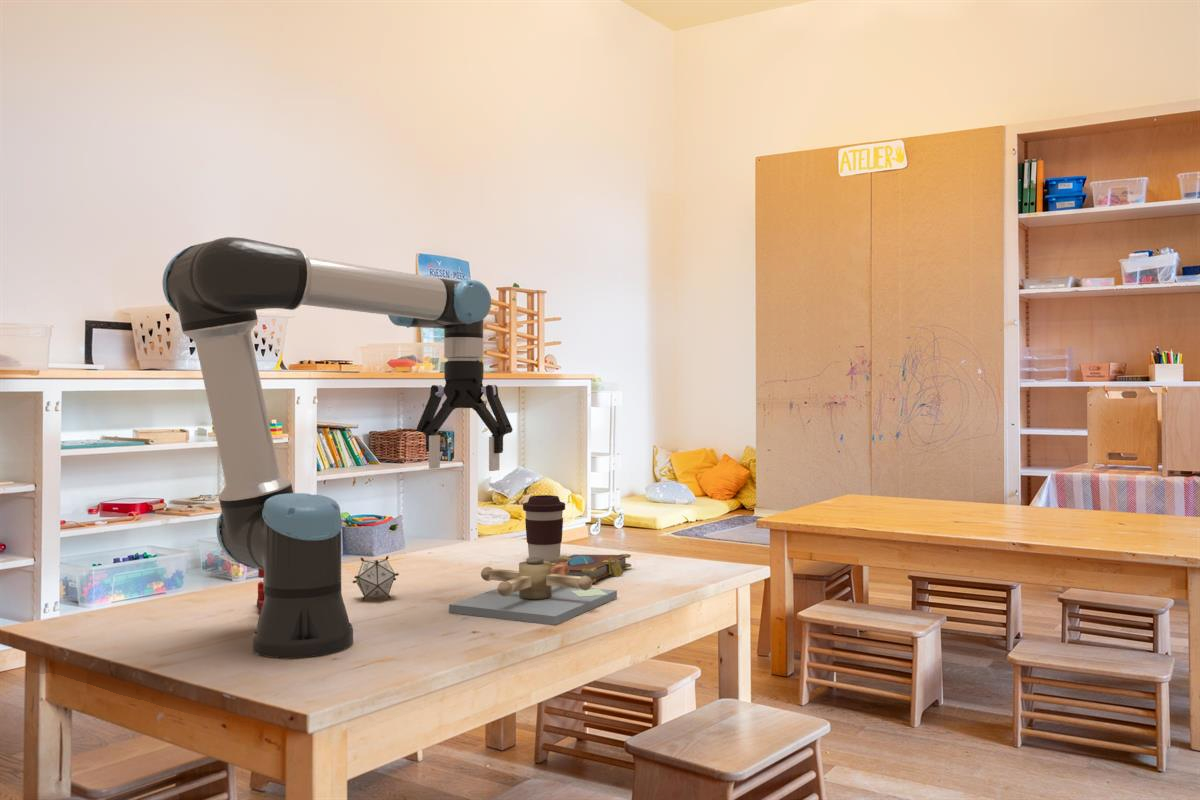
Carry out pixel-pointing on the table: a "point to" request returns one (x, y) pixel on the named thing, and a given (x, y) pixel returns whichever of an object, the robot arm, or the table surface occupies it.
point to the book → (594, 565)
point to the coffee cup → (544, 526)
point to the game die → (375, 578)
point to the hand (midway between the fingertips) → (463, 469)
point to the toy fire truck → (260, 591)
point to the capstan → (535, 579)
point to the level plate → (534, 605)
